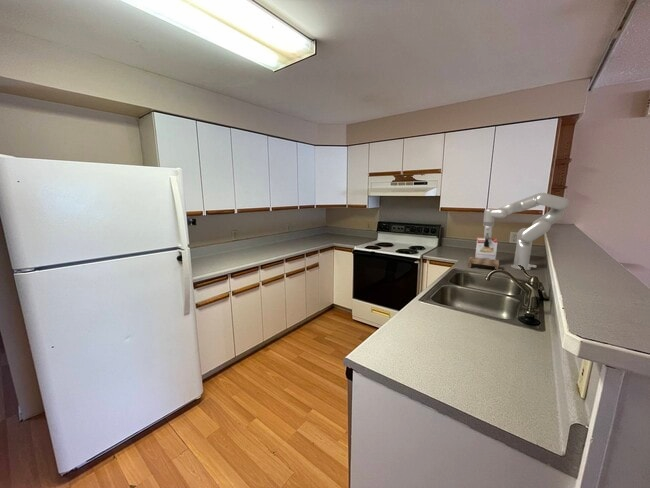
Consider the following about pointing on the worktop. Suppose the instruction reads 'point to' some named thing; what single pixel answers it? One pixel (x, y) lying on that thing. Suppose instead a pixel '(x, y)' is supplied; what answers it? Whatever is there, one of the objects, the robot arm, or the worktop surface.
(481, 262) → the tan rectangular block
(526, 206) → the robot arm
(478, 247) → the cracker box
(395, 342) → the worktop surface
